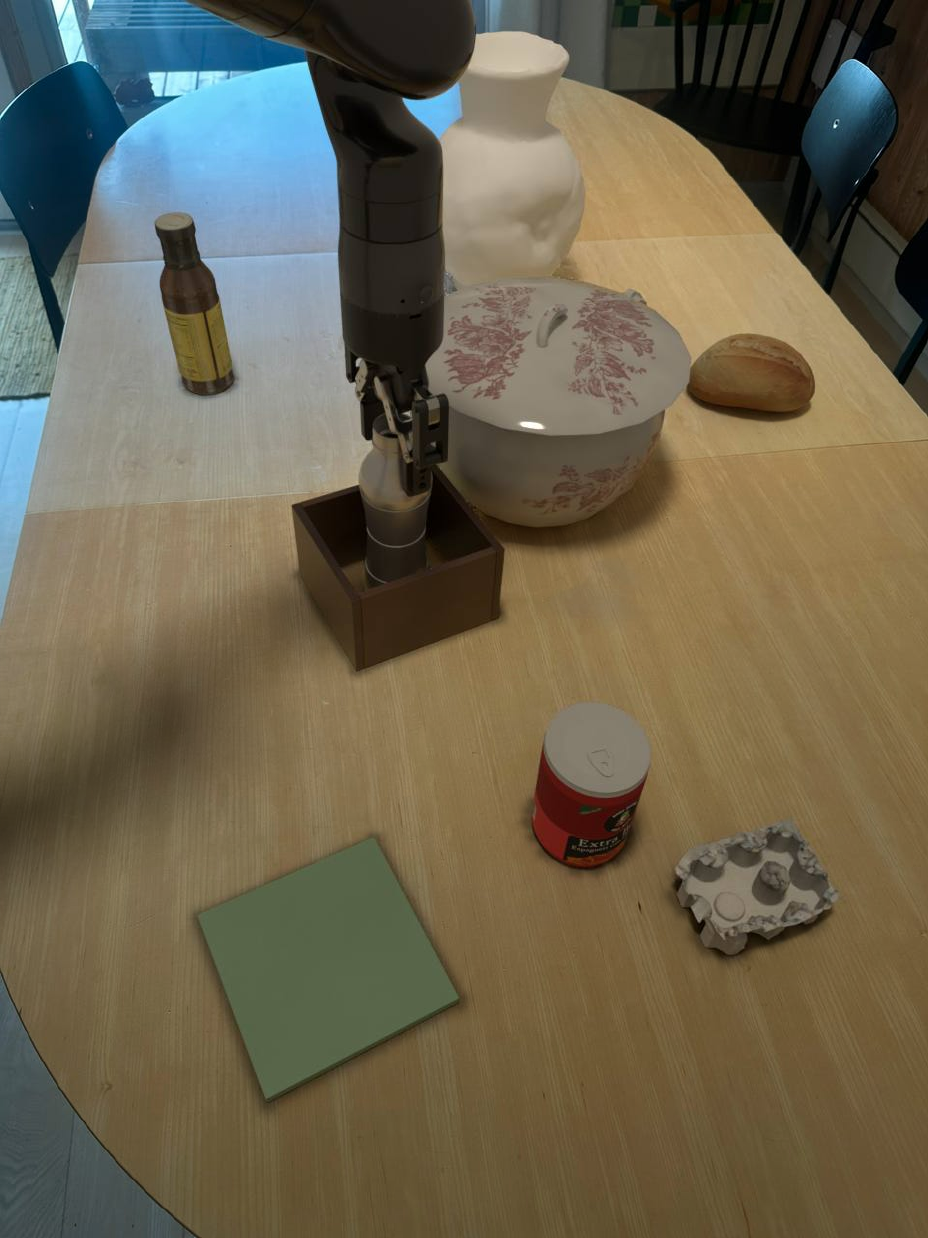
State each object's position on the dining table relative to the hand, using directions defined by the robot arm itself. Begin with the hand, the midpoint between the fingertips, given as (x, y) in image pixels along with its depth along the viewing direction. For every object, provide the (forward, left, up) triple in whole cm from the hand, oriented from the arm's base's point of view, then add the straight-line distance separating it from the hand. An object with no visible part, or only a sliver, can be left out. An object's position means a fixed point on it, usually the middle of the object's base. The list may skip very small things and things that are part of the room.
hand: (395, 463), depth 81 cm
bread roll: (+52, +11, -16) cm, 56 cm away
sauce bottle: (-5, +42, -16) cm, 45 cm away
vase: (+37, +47, -16) cm, 62 cm away
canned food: (+2, -29, -16) cm, 33 cm away
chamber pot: (+21, +9, -16) cm, 28 cm away
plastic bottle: (0, 0, -16) cm, 16 cm away
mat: (-20, -30, -16) cm, 39 cm away
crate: (0, 0, -16) cm, 16 cm away
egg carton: (+10, -40, -16) cm, 44 cm away
